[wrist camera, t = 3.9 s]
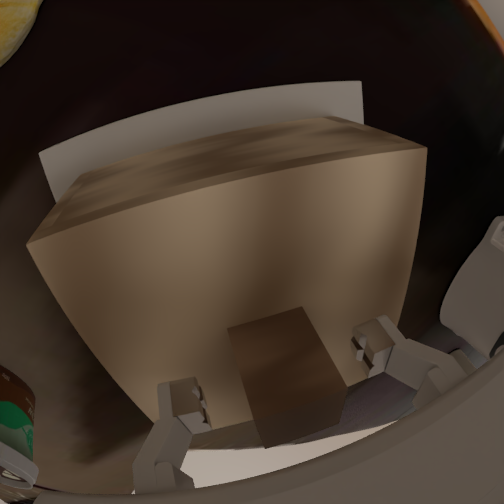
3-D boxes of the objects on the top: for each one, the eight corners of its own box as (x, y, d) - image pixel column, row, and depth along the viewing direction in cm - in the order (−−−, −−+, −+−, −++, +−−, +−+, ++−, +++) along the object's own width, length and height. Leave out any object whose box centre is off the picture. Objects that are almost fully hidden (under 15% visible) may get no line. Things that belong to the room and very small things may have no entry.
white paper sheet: (356, 80, 15) (361, 81, 14) (352, 307, 25) (355, 310, 24) (41, 150, 12) (38, 153, 12) (147, 366, 22) (147, 371, 22)
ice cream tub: (54, 423, 25) (51, 498, 16) (10, 412, 22) (1, 483, 14) (32, 362, 19) (14, 464, 11) (-22, 347, 17) (-49, 439, 9)
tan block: (334, 115, 15) (512, 190, 6) (335, 301, 23) (412, 417, 14) (80, 174, 13) (-27, 336, 4) (161, 351, 21) (178, 495, 12)
